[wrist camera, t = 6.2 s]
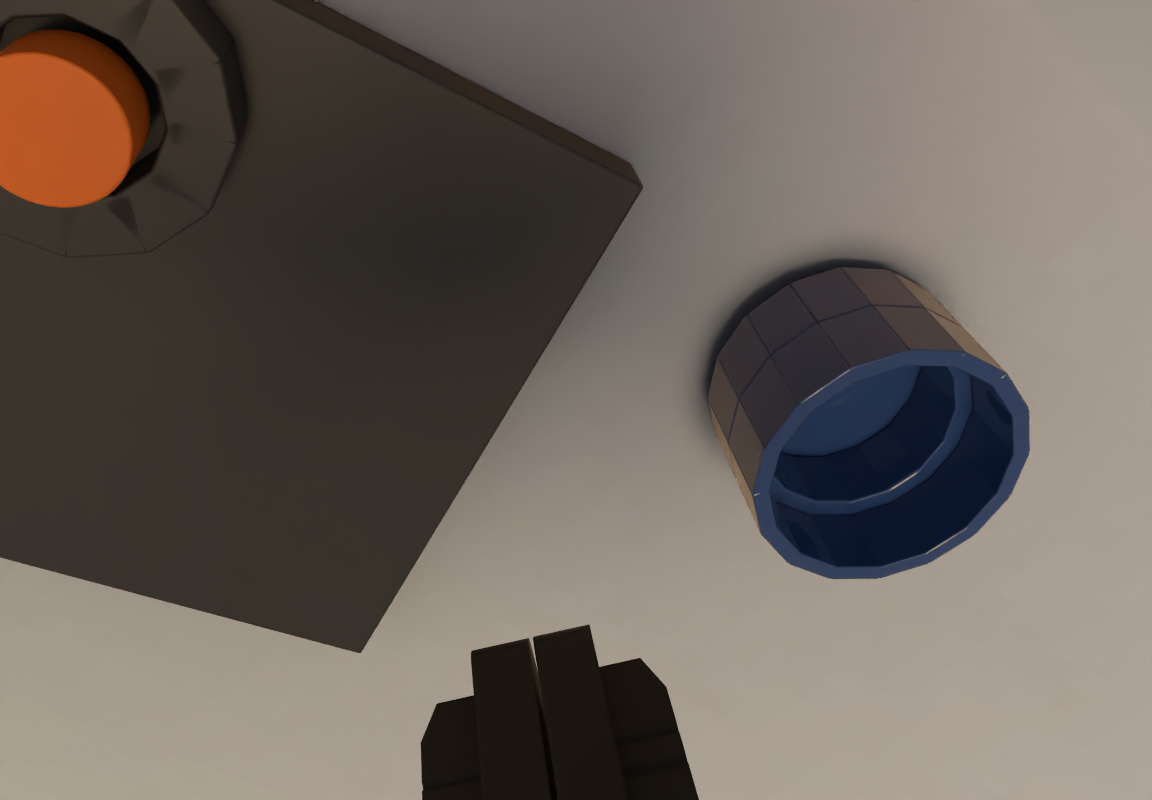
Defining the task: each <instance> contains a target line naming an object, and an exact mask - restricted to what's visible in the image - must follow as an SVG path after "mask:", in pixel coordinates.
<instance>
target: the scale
mask: <svg viewBox="0 0 1152 800" xmlns="http://www.w3.org/2000/svg"><path fill="white" fill-rule="evenodd" d="M49 29H53V30H66V31H72V32H76V33H80V34H83V35H86V36H88V37H91V38H93V39H95V40H97V41H99V42H101V43H103V44H104V45H106V46H107V47H109V48H110V49H112V50H113V51H114V52H115V53H117V54H118V55H119V56H120V57H121V58H122V59H123V60H124V61H125V62H126V63H127V64H128V65H129V66H130V67H131V69H132V70H133V71H134V73H135V74H136V76H137V77H138V79H139V81H140V82H141V84H142V86H143V89H144V91H145V93H146V96H147V100H148V103H149V109H150V128H149V133H148V137H147V140H146V142H145V144H144V147H143V148H142V150H141V152H140V153H139V155H138V157H137V158H136V160H135V161H134V163H133V165H132V166H131V168H130V170H129V171H128V173H127V175H126V176H125V178H124V179H123V181H122V182H121V184H120V185H119V186H118V187H117V188H116V189H115V190H114V191H113V192H111V193H110V194H109V195H108V196H106V197H104V198H102V199H101V200H99V201H96V202H94V203H91V204H88V205H84V206H79V207H70V208H59V207H50V206H45V205H40V204H36V203H33V202H30V201H27V200H25V199H23V198H21V197H18V196H16V195H14V194H13V193H11V192H9V191H8V190H6V189H4V188H3V187H2V186H0V557H1V558H5V559H8V560H12V561H16V562H20V563H23V564H27V565H31V566H35V567H38V568H42V569H46V570H50V571H53V572H57V573H61V574H65V575H68V576H72V577H76V578H80V579H83V580H87V581H91V582H95V583H98V584H102V585H106V586H110V587H113V588H117V589H121V590H125V591H128V592H132V593H136V594H140V595H143V596H147V597H151V598H155V599H158V600H162V601H166V602H170V603H173V604H177V605H181V606H185V607H188V608H192V609H196V610H200V611H203V612H207V613H211V614H215V615H218V616H222V617H226V618H230V619H233V620H237V621H241V622H245V623H248V624H252V625H256V626H260V627H263V628H267V629H271V630H275V631H278V632H282V633H286V634H290V635H293V636H297V637H301V638H305V639H308V640H312V641H316V642H320V643H323V644H327V645H331V646H335V647H338V648H342V649H346V650H350V651H353V652H357V653H361V652H362V650H363V649H364V647H365V645H366V644H367V642H368V640H369V639H370V637H371V635H372V634H373V632H374V630H375V629H376V627H377V626H378V624H379V622H380V621H381V619H382V617H383V616H384V614H385V612H386V611H387V609H388V607H389V606H390V604H391V602H392V601H393V599H394V598H395V596H396V594H397V593H398V591H399V589H400V588H401V586H402V584H403V583H404V581H405V579H406V578H407V576H408V574H409V573H410V571H411V569H412V568H413V566H414V565H415V563H416V561H417V560H418V558H419V556H420V555H421V553H422V551H423V550H424V548H425V546H426V545H427V543H428V541H429V540H430V538H431V537H432V535H433V533H434V532H435V530H436V528H437V527H438V525H439V523H440V522H441V520H442V518H443V517H444V515H445V513H446V512H447V510H448V509H449V507H450V505H451V504H452V502H453V500H454V499H455V497H456V495H457V494H458V492H459V490H460V489H461V487H462V485H463V484H464V482H465V480H466V479H467V477H468V476H469V474H470V472H471V471H472V469H473V467H474V466H475V464H476V462H477V461H478V459H479V457H480V456H481V454H482V452H483V451H484V449H485V448H486V446H487V444H488V443H489V441H490V439H491V438H492V436H493V434H494V433H495V431H496V429H497V428H498V426H499V424H500V423H501V421H502V419H503V418H504V416H505V415H506V413H507V411H508V410H509V408H510V406H511V405H512V403H513V401H514V400H515V398H516V396H517V395H518V393H519V391H520V390H521V388H522V387H523V385H524V383H525V382H526V380H527V378H528V377H529V375H530V373H531V372H532V370H533V368H534V367H535V365H536V363H537V362H538V360H539V358H540V357H541V355H542V354H543V352H544V350H545V349H546V347H547V345H548V344H549V342H550V340H551V339H552V337H553V335H554V334H555V332H556V330H557V329H558V327H559V326H560V324H561V322H562V321H563V319H564V317H565V316H566V314H567V312H568V311H569V309H570V307H571V306H572V304H573V302H574V301H575V299H576V297H577V296H578V294H579V293H580V291H581V289H582V288H583V286H584V284H585V283H586V281H587V279H588V278H589V276H590V274H591V273H592V271H593V269H594V268H595V266H596V265H597V263H598V261H599V260H600V258H601V256H602V255H603V253H604V251H605V250H606V248H607V246H608V245H609V243H610V241H611V240H612V238H613V236H614V235H615V233H616V232H617V230H618V228H619V227H620V225H621V223H622V222H623V220H624V218H625V217H626V215H627V213H628V212H629V210H630V208H631V207H632V205H633V204H634V202H635V200H636V199H637V197H638V195H639V194H640V192H641V190H642V189H643V185H642V184H641V182H640V180H639V178H638V176H637V174H636V173H635V171H634V169H633V167H632V165H631V164H630V163H628V162H626V161H624V160H622V159H620V158H618V157H616V156H614V155H612V154H611V153H609V152H607V151H605V150H603V149H601V148H599V147H597V146H595V145H593V144H591V143H589V142H587V141H585V140H583V139H581V138H579V137H578V136H576V135H574V134H572V133H570V132H568V131H566V130H564V129H562V128H560V127H558V126H556V125H554V124H552V123H550V122H548V121H546V120H545V119H543V118H541V117H539V116H537V115H535V114H533V113H531V112H529V111H527V110H525V109H523V108H521V107H519V106H517V105H515V104H513V103H512V102H510V101H508V100H506V99H504V98H502V97H500V96H498V95H496V94H494V93H492V92H490V91H488V90H486V89H484V88H482V87H480V86H479V85H477V84H475V83H473V82H471V81H469V80H467V79H465V78H463V77H461V76H459V75H457V74H455V73H453V72H451V71H449V70H447V69H446V68H444V67H442V66H440V65H438V64H436V63H434V62H432V61H430V60H428V59H426V58H424V57H422V56H420V55H418V54H416V53H414V52H413V51H411V50H409V49H407V48H405V47H403V46H401V45H399V44H397V43H395V42H393V41H391V40H389V39H387V38H385V37H383V36H381V35H380V34H378V33H376V32H374V31H372V30H370V29H368V28H366V27H364V26H362V25H360V24H358V23H356V22H354V21H352V20H350V19H348V18H347V17H345V16H343V15H341V14H339V13H337V12H335V11H333V10H331V9H329V8H327V7H325V6H323V5H321V4H319V3H317V2H315V1H314V0H0V51H1V50H3V49H4V48H5V47H6V46H8V45H9V44H10V43H11V42H13V41H14V40H16V39H18V38H19V37H21V36H23V35H26V34H28V33H31V32H36V31H40V30H49Z"/></svg>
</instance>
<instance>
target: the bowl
mask: <svg viewBox="0 0 1152 800" xmlns="http://www.w3.org/2000/svg"><path fill="white" fill-rule="evenodd" d="M708 399H709V400H708V403H709V408H710V412H711V416H712V420H713V424H714V428H715V433H716V436H717V438H718V440H719V443H720V445H721V447H722V449H723V451H724V454H725V456H726V458H727V460H728V462H729V465H730V467H731V469H732V471H733V473H734V476H735V478H736V479H737V483H738V485H739V487H740V489H741V491H742V494H743V496H744V498H745V500H746V502H747V505H748V507H749V509H750V511H751V513H752V516H753V518H754V520H755V522H756V524H757V527H758V529H759V531H760V533H761V535H762V536H763V537H764V538H765V539H766V540H767V541H768V543H769V544H770V545H771V546H772V547H773V548H774V549H775V550H776V551H777V552H778V553H779V554H780V555H781V556H782V557H783V558H784V559H785V561H786V562H787V563H789V564H791V565H793V566H796V567H799V568H801V569H804V570H807V571H810V572H812V573H815V574H818V575H821V576H823V577H826V578H831V579H877V578H882V577H886V576H889V575H892V574H896V573H899V572H902V571H905V570H909V569H912V568H915V567H919V566H922V565H925V564H928V563H929V562H932V561H934V560H935V559H937V558H939V557H940V556H942V555H943V554H945V553H947V552H948V551H950V550H951V549H953V548H955V547H956V546H958V545H959V544H961V543H963V542H964V541H966V540H967V539H969V538H971V537H972V536H974V534H976V533H977V532H978V531H979V530H980V529H981V528H982V527H983V526H984V524H985V523H986V522H987V521H988V520H989V519H990V518H991V517H992V516H993V515H994V514H995V512H996V511H997V510H998V509H999V508H1000V507H1001V506H1002V505H1003V504H1004V503H1005V502H1006V500H1007V499H1008V498H1009V496H1010V495H1011V494H1012V491H1013V489H1014V487H1015V485H1016V482H1017V480H1018V478H1019V475H1020V473H1021V471H1022V469H1023V466H1024V464H1025V462H1026V460H1027V457H1028V455H1029V451H1030V444H1029V409H1028V406H1027V404H1026V403H1025V401H1024V399H1023V398H1022V396H1021V395H1020V393H1019V391H1018V390H1017V388H1016V387H1015V385H1014V383H1013V382H1012V380H1011V379H1010V377H1009V375H1008V374H1007V373H1006V372H1005V371H1004V370H1003V368H1002V367H1001V366H1000V365H999V364H998V363H997V362H996V361H995V360H994V359H993V358H992V357H991V356H990V355H989V354H988V353H987V352H986V351H985V350H984V349H983V348H982V346H981V345H980V344H979V343H978V342H977V341H976V340H975V339H974V338H973V337H972V336H971V335H970V334H969V333H968V332H967V331H966V330H965V329H964V328H963V327H962V326H961V325H960V324H959V323H958V321H957V320H956V319H955V318H954V317H953V316H952V315H951V314H950V313H949V312H948V311H947V310H946V309H945V308H944V307H943V306H942V305H941V304H940V303H939V302H938V301H937V299H936V298H935V297H934V296H933V295H932V294H931V293H930V292H928V291H927V290H926V289H925V288H923V287H921V286H919V285H917V284H915V283H913V282H911V281H909V280H908V279H906V278H904V277H902V276H900V275H898V274H896V273H894V272H891V271H889V270H886V269H868V268H849V267H841V268H835V269H832V270H828V271H825V272H822V273H819V274H816V275H812V276H809V277H806V278H803V279H800V280H797V281H793V282H791V283H790V285H786V286H785V287H784V288H782V289H781V290H780V291H778V292H777V293H775V294H774V295H773V296H771V297H770V298H769V299H767V300H766V301H764V302H763V303H762V304H760V305H759V306H758V307H756V308H755V309H753V310H752V311H751V312H749V313H748V316H747V315H746V316H744V318H743V319H742V321H741V322H740V324H739V325H738V327H737V328H736V329H735V331H734V332H733V334H732V335H731V337H730V338H729V339H728V341H727V342H726V344H725V345H724V347H723V348H722V349H721V351H720V352H719V354H718V357H717V359H716V364H715V368H714V373H713V377H712V381H711V386H710V390H709V394H708Z"/></svg>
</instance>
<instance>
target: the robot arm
mask: <svg viewBox="0 0 1152 800" xmlns="http://www.w3.org/2000/svg"><path fill="white" fill-rule="evenodd" d="M533 641H534V649H535V655H536V662H537V667H536V663H535V659H534V655H533V651H532V647H531V644H530V641H529V638H527V639H523V640H518V641H514V642H509V643H505V644H500V645H496V646H491V647H487V648H482V649H478V650H473V651H472V652H471V664H472V676H473V688H474V696H469V697H465V698H460V699H456V700H451V701H447V702H442V703H438V704H437V705H436V707H435V710H434V712H433V715H432V717H431V719H430V722H429V724H428V727H427V729H426V732H425V734H424V736H423V739H422V741H421V763H422V784H423V791H422V800H699V799H698V795H697V792H696V788H695V785H694V781H693V778H692V774H691V771H690V768H689V764H688V762H687V758H686V754H685V750H684V747H683V743H682V740H681V736H680V733H679V731H678V727H677V723H676V719H675V716H674V712H673V709H672V705H671V702H670V698H669V695H668V691H667V688H666V686H665V685H664V684H663V683H662V682H661V681H660V680H659V678H658V677H657V676H656V675H655V674H654V673H653V672H652V671H651V670H650V668H649V667H648V666H647V665H646V664H645V663H644V662H643V661H642V660H641V658H638V659H633V660H629V661H624V662H620V663H616V664H611V665H607V666H602V667H599V666H598V661H597V657H596V652H595V648H594V643H593V639H592V634H591V630H590V625H585V626H580V627H576V628H571V629H567V630H562V631H558V632H553V633H549V634H544V635H539V636H535V637H533ZM537 668H538V671H537Z"/></svg>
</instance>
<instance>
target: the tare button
mask: <svg viewBox="0 0 1152 800" xmlns="http://www.w3.org/2000/svg"><path fill="white" fill-rule="evenodd" d="M149 128H150V109H149V103H148V100H147V96H146V93H145V91H144V89H143V86H142V84H141V82H140V81H139V79H138V77H137V76H136V74H135V73H134V71H133V70H132V69H131V67H130V66H129V65H128V64H127V63H126V62H125V61H124V60H123V59H122V58H121V57H120V56H119V55H118V54H117V53H115V52H114V51H113V50H112V49H110V48H109V47H107V46H106V45H104V44H103V43H101V42H99V41H97V40H95V39H93V38H91V37H88V36H86V35H83V34H80V33H76V32H72V31H66V30H53V29H49V30H40V31H36V32H31V33H28V34H26V35H23V36H21V37H19V38H18V39H16V40H14V41H13V42H11V43H10V44H9V45H8V46H6V47H5V48H4V49H3V50H1V51H0V186H2V187H3V188H4V189H6V190H8V191H9V192H11V193H13V194H14V195H16V196H18V197H21V198H23V199H25V200H27V201H30V202H33V203H36V204H40V205H45V206H50V207H59V208H70V207H79V206H84V205H88V204H91V203H94V202H96V201H99V200H101V199H102V198H104V197H106V196H108V195H109V194H110V193H111V192H113V191H114V190H115V189H116V188H117V187H118V186H119V185H120V184H121V182H122V181H123V179H124V178H125V176H126V175H127V173H128V171H129V170H130V168H131V166H132V165H133V163H134V161H135V160H136V158H137V157H138V155H139V153H140V152H141V150H142V148H143V147H144V144H145V142H146V140H147V137H148V133H149Z"/></svg>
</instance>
